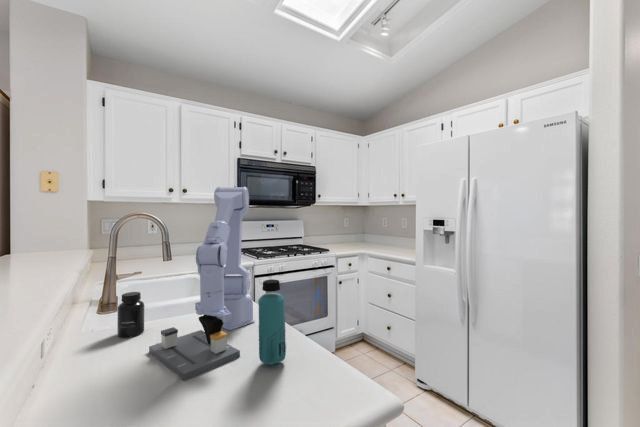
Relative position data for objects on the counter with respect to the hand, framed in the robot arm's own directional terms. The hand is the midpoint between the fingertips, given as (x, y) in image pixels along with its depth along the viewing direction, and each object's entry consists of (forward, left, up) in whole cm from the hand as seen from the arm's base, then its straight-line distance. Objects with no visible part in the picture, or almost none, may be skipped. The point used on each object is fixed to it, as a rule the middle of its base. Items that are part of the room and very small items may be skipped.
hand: (212, 343), depth 77 cm
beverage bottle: (-6, +16, -3) cm, 17 cm away
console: (+4, -3, -3) cm, 5 cm away
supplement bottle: (+10, -30, -3) cm, 32 cm away
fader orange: (0, +3, -1) cm, 3 cm away
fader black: (+7, -9, -1) cm, 12 cm away
